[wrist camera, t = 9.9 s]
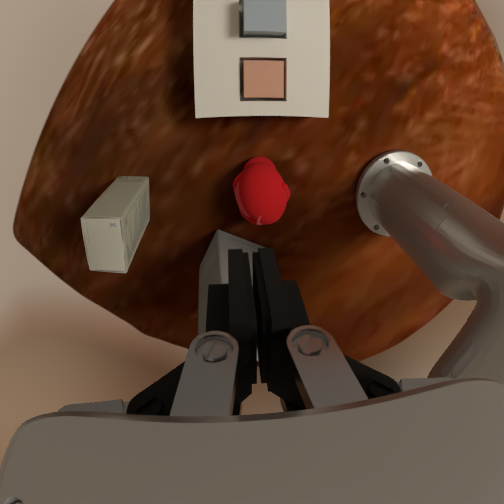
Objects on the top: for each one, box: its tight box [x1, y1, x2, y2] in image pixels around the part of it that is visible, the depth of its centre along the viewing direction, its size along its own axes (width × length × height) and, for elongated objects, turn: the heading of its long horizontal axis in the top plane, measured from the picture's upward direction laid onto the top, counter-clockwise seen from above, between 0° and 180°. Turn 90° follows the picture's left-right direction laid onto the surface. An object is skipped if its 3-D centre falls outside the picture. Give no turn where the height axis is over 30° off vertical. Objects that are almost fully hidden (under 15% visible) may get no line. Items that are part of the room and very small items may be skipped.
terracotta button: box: [242, 60, 284, 98], centre depth 29 cm, size 4×4×3 cm
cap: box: [233, 157, 290, 225], centre depth 36 cm, size 8×6×6 cm
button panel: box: [193, 0, 330, 118], centre depth 26 cm, size 14×22×4 cm, turn 0°
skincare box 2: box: [198, 230, 265, 361], centre depth 36 cm, size 8×7×16 cm
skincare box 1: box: [81, 176, 150, 273], centre depth 32 cm, size 6×4×12 cm
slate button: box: [242, 0, 286, 37], centre depth 24 cm, size 4×4×3 cm
